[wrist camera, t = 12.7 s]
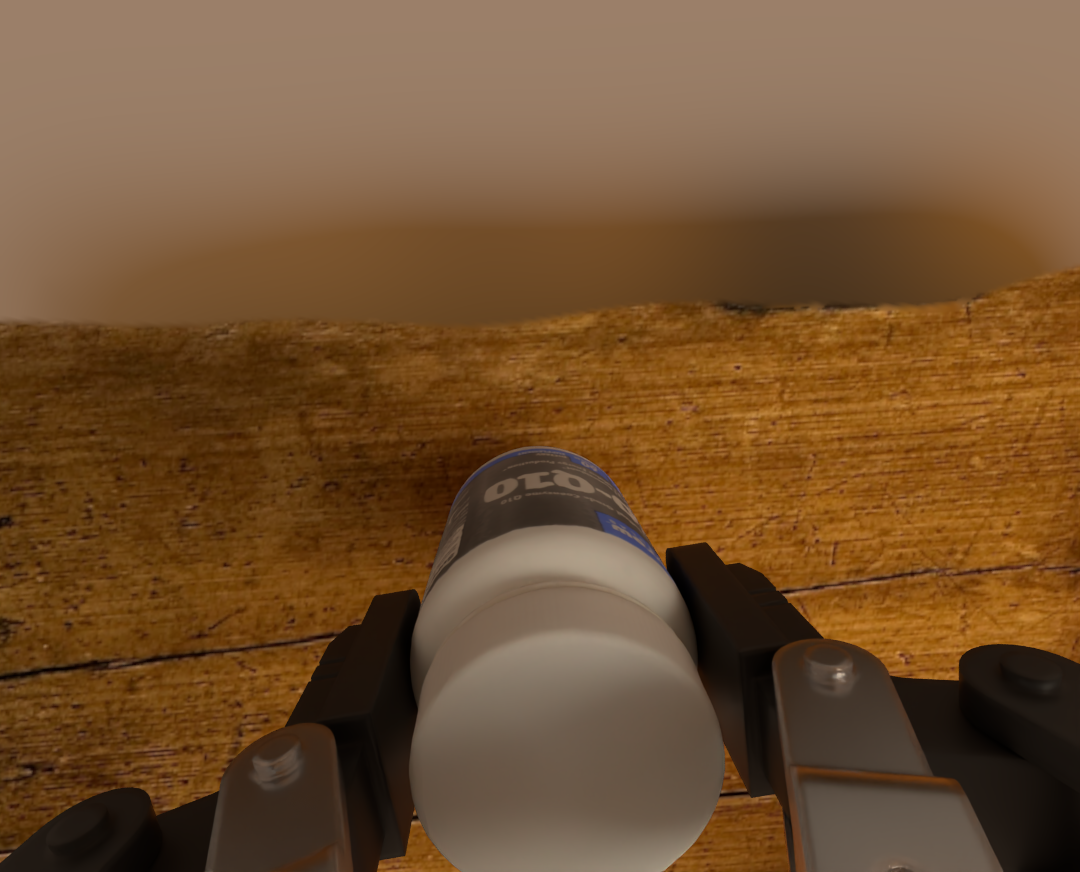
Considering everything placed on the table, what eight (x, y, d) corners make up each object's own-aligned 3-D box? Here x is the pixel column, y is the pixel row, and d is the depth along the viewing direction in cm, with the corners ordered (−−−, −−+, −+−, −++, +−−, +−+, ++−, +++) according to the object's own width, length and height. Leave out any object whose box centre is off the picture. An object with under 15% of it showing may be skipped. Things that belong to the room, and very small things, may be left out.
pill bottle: (650, 468, 15) (818, 655, 7) (597, 629, 16) (690, 961, 8) (472, 420, 15) (429, 561, 7) (427, 589, 16) (338, 900, 7)
